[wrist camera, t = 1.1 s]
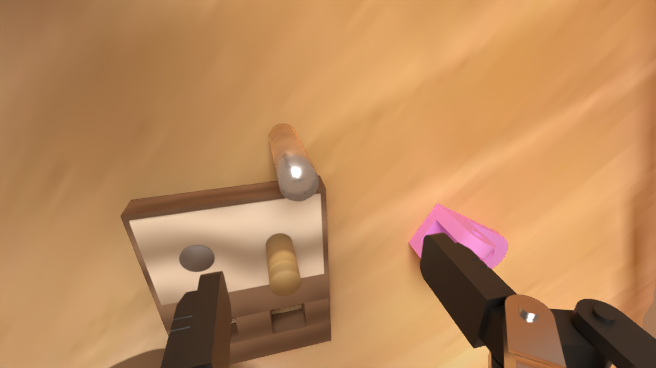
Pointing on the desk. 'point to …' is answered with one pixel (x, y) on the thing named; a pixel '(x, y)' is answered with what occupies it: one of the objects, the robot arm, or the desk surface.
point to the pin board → (240, 260)
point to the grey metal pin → (292, 164)
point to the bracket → (462, 235)
